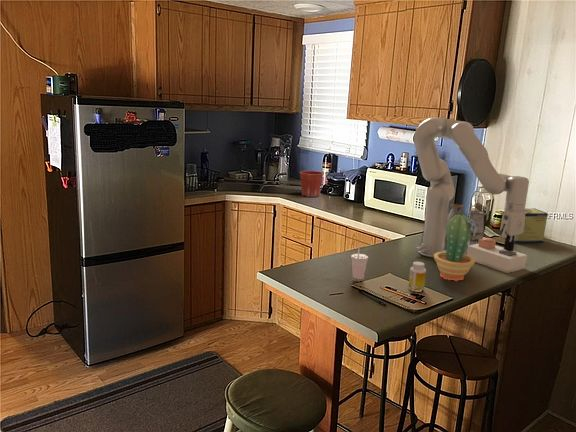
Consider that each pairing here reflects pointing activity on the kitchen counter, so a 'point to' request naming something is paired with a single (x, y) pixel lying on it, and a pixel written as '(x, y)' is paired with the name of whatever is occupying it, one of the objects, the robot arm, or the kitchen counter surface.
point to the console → (497, 258)
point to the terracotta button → (487, 243)
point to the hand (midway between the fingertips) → (508, 249)
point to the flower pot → (311, 183)
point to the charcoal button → (507, 252)
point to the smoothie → (359, 264)
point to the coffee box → (477, 226)
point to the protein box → (533, 226)
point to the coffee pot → (455, 211)
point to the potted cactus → (456, 249)
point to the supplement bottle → (417, 276)
